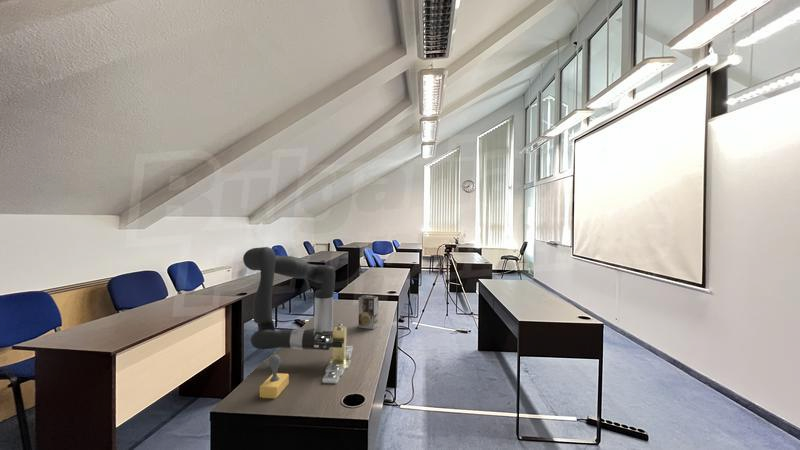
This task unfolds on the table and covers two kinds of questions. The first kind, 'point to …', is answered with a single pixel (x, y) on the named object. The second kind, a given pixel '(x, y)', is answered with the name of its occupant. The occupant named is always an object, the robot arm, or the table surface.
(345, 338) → the tall studded toy brick
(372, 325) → the coffee box
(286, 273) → the robot arm
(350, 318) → the table surface
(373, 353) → the table surface
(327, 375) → the studded plate chain
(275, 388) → the yellow handled block
